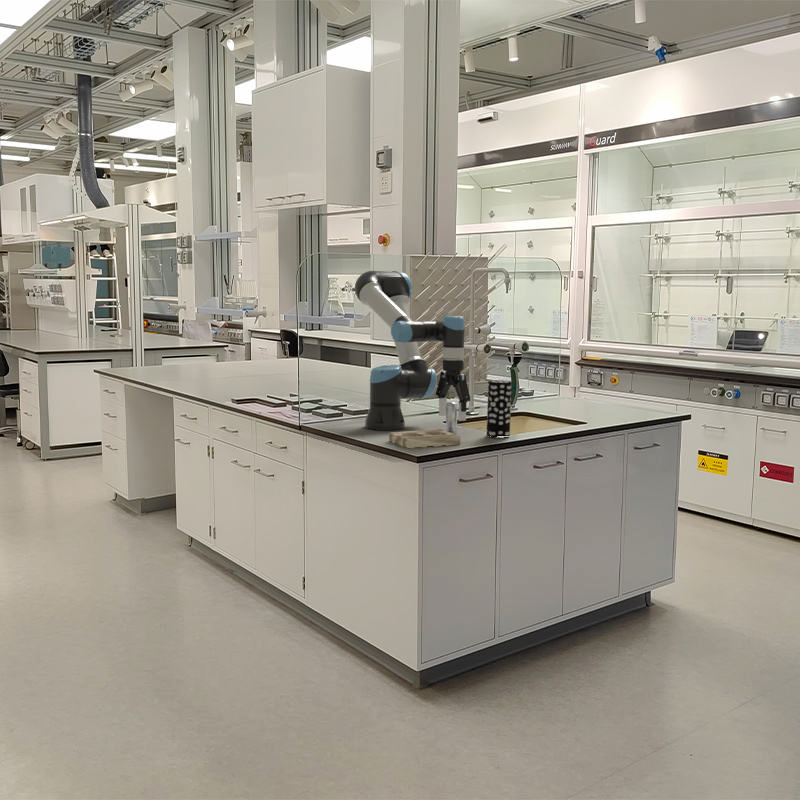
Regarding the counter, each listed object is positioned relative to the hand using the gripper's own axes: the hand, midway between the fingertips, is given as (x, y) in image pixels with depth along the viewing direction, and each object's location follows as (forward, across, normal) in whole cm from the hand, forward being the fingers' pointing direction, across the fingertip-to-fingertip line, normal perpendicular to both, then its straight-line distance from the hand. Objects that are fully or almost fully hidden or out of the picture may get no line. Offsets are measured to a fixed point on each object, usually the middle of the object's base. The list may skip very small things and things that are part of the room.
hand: (452, 418), depth 286 cm
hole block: (+7, -8, +16) cm, 19 cm away
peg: (+6, 0, 0) cm, 6 cm away
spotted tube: (+7, -8, -15) cm, 18 cm away
